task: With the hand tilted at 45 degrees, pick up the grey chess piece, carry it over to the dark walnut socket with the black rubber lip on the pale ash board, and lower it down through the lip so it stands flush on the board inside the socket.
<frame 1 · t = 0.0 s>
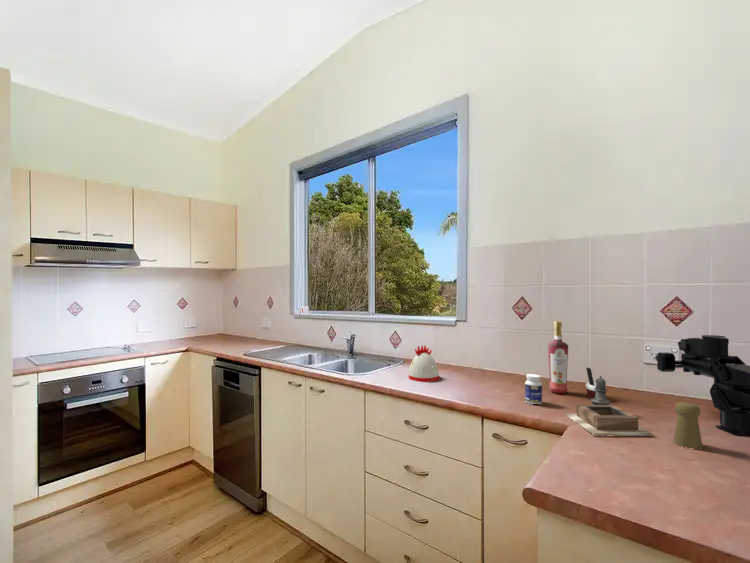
hand: (668, 357, 134), 17 cm above the counter, tool horizontal, fingers open, 9 cm apart
kitchen timer: (423, 378, 172), on the counter
cork: (687, 445, 100), on the counter
cocoa: (595, 399, 140), on the counter
socket block: (605, 425, 113), on the counter
pill bottle: (533, 403, 135), on the counter
grey chess piece: (600, 411, 126), on the counter
liquor: (558, 392, 148), on the counter
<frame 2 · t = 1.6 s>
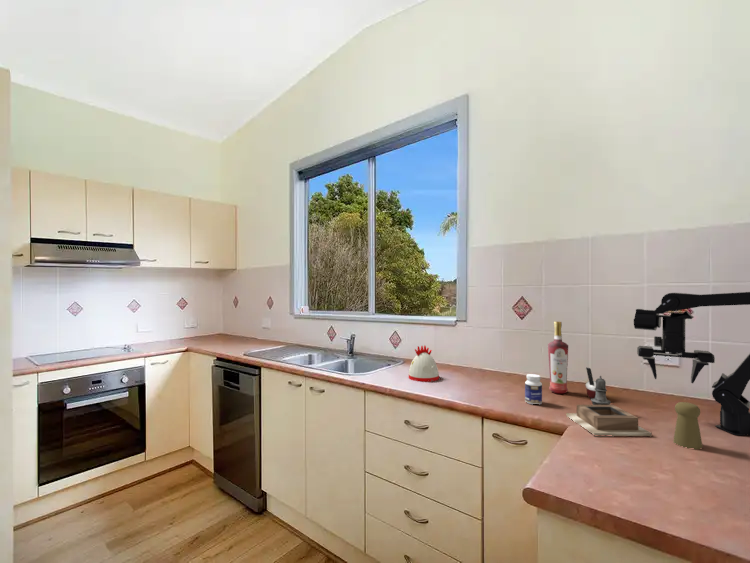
hand: (673, 380, 119), 12 cm above the counter, tool pointing down, fingers open, 9 cm apart
nothing on the counter moved.
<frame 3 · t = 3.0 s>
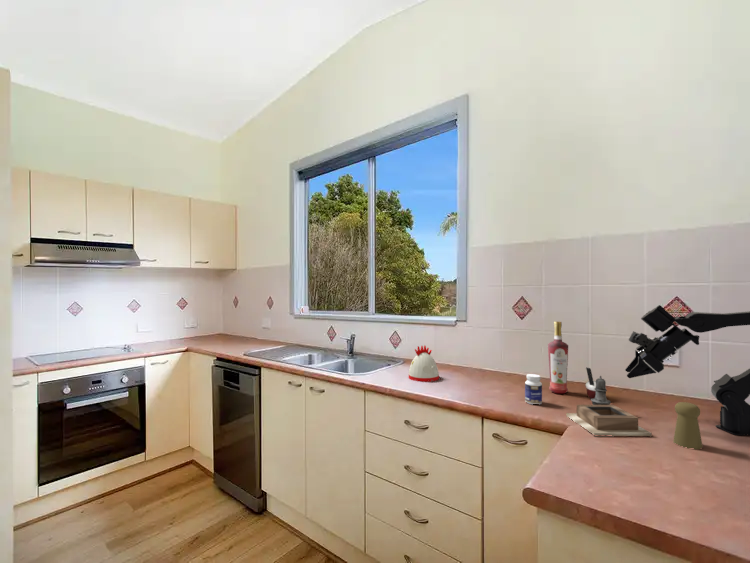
hand: (627, 374, 122), 13 cm above the counter, tool tilted 45°, fingers open, 9 cm apart
nothing on the counter moved.
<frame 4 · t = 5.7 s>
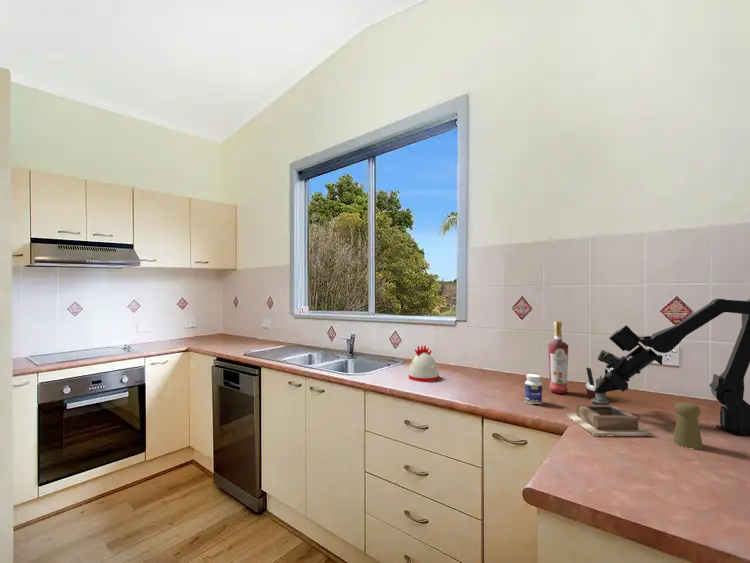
hand: (595, 391, 127), 7 cm above the counter, tool tilted 45°, fingers closed on grey chess piece, 4 cm apart
grey chess piece: (600, 411, 126), on the counter, touching gripper
everything else where it was.
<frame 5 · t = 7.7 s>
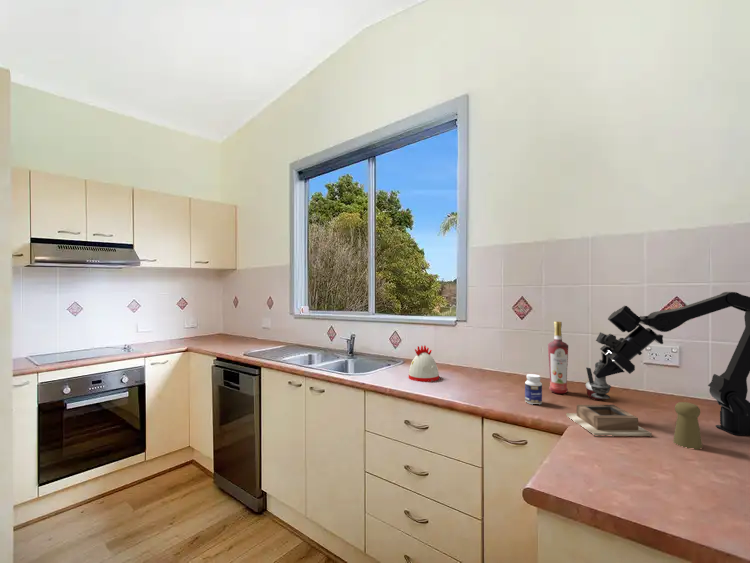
hand: (595, 375, 121), 13 cm above the counter, tool tilted 45°, fingers closed on grey chess piece, 4 cm apart
grey chess piece: (600, 396, 120), point 7 cm above the counter, touching gripper
everything else where it was.
when the fingers open (9 cm above the counter, at t = 9.7 s): grey chess piece drops 1 cm, resting on socket block.
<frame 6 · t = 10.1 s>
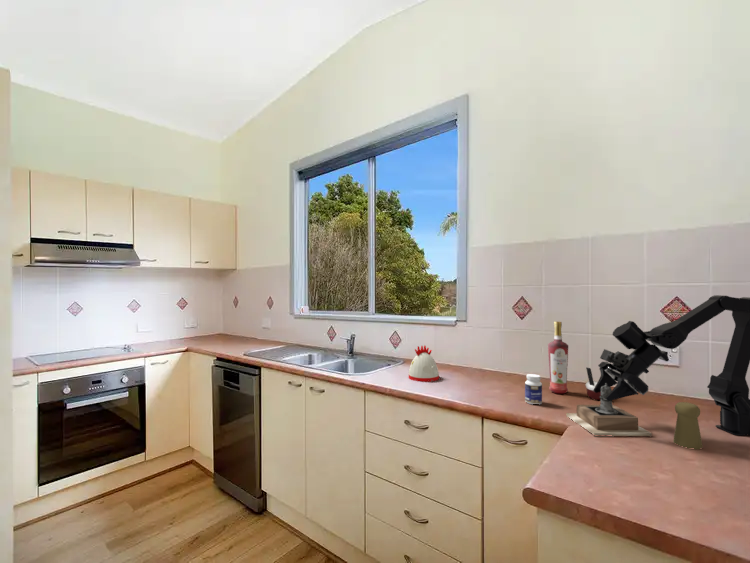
hand: (600, 395, 113), 9 cm above the counter, tool tilted 45°, fingers open, 8 cm apart
grey chess piece: (606, 423, 113), point 1 cm above the counter, touching socket block
everything else where it was.
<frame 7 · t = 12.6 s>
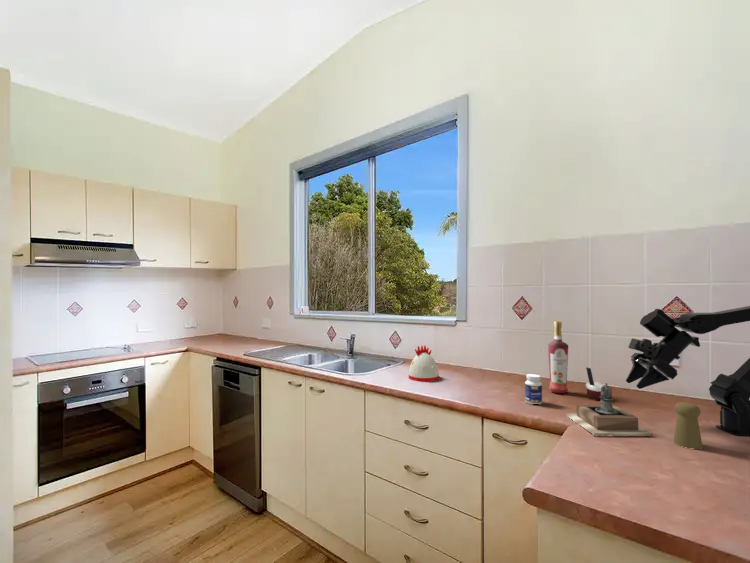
hand: (632, 384, 114), 12 cm above the counter, tool tilted 40°, fingers open, 9 cm apart
nothing on the counter moved.
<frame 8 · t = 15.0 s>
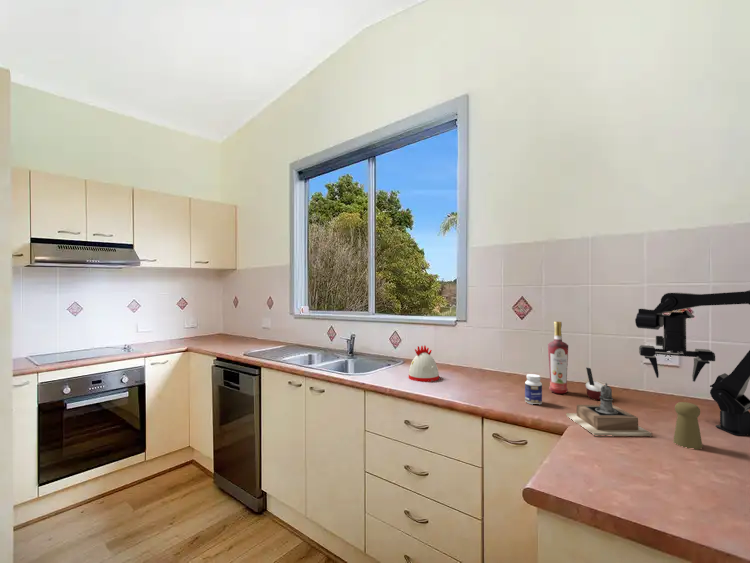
hand: (675, 379, 121), 12 cm above the counter, tool pointing down, fingers open, 9 cm apart
nothing on the counter moved.
at the end: grey chess piece 0.2 cm off-centre on the socket block, point 0.8 cm above the socket block's base; grey chess piece tilted 0°; the gripper is holding nothing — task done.
